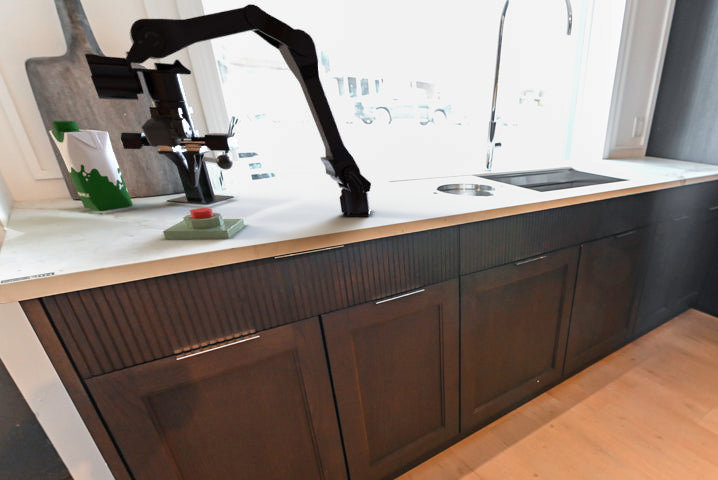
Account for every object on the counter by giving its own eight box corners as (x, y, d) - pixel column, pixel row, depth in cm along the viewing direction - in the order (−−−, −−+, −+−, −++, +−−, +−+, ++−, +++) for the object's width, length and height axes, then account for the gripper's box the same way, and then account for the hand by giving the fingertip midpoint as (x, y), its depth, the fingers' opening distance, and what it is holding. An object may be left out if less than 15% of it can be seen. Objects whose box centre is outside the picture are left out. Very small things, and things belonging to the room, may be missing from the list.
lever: (236, 169, 113) (234, 155, 111) (227, 171, 110) (224, 156, 108) (190, 161, 114) (187, 146, 112) (179, 162, 111) (176, 148, 109)
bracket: (234, 200, 121) (221, 147, 114) (208, 207, 112) (192, 151, 105) (196, 197, 122) (180, 145, 115) (167, 204, 113) (149, 148, 107)
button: (217, 215, 94) (214, 207, 93) (209, 220, 90) (207, 212, 89) (196, 216, 93) (194, 207, 92) (188, 220, 89) (186, 212, 89)
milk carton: (79, 211, 104) (39, 120, 95) (121, 204, 112) (88, 119, 102) (99, 216, 101) (60, 122, 92) (141, 208, 109) (109, 121, 99)
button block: (244, 226, 98) (240, 210, 97) (229, 238, 90) (224, 221, 88) (187, 226, 96) (182, 211, 94) (165, 239, 88) (159, 222, 86)
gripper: (85, 99, 72) (120, 193, 80) (206, 103, 76) (229, 194, 83) (122, 99, 82) (151, 183, 89) (228, 103, 85) (248, 184, 93)
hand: (194, 186), depth 88 cm, fingers closed
